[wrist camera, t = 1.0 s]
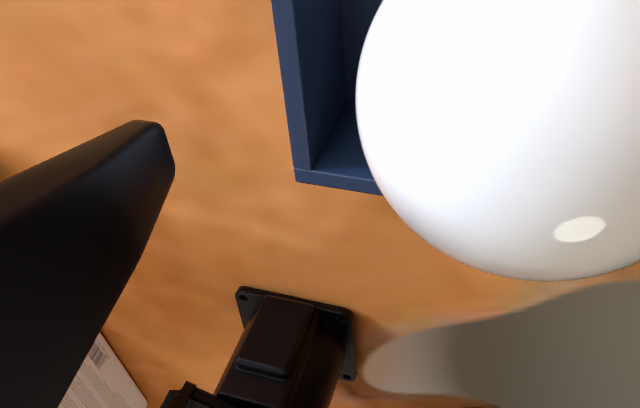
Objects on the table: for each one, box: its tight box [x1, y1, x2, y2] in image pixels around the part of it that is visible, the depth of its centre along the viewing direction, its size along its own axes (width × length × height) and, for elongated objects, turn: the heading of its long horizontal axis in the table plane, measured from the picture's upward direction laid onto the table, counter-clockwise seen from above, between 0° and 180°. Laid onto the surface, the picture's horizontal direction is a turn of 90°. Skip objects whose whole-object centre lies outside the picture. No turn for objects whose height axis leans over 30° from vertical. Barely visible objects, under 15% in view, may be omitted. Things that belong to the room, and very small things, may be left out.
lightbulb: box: [355, 0, 640, 282], centre depth 12 cm, size 6×6×11 cm
